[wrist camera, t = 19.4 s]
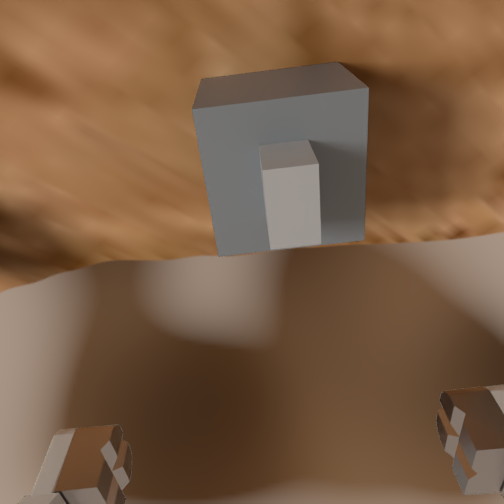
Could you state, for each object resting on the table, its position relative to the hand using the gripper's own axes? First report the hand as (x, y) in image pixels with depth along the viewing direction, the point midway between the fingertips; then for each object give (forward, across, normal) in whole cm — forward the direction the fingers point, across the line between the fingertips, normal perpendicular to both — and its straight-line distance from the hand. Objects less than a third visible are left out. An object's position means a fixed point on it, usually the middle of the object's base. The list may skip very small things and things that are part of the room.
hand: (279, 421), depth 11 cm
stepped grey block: (+28, -2, +2) cm, 28 cm away
